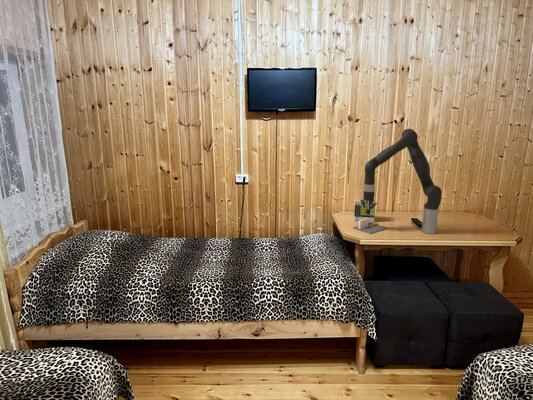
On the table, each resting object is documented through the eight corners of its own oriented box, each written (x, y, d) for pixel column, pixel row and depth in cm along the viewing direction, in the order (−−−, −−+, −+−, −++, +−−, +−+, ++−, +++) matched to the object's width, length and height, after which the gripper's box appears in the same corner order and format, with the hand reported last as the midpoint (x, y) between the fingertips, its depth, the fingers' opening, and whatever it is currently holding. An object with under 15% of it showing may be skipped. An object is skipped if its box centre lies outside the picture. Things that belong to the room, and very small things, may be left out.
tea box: (373, 218, 297) (375, 200, 293) (374, 222, 287) (375, 203, 284) (354, 217, 300) (355, 199, 297) (353, 221, 291) (354, 202, 287)
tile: (366, 217, 276) (358, 220, 271) (368, 218, 274) (360, 220, 269) (365, 225, 277) (357, 228, 272) (368, 226, 276) (359, 228, 271)
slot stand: (371, 222, 284) (371, 220, 283) (378, 224, 279) (378, 222, 279) (365, 224, 280) (365, 222, 279) (371, 226, 275) (372, 224, 275)
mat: (370, 223, 286) (370, 222, 285) (388, 228, 273) (388, 227, 273) (352, 228, 274) (352, 227, 274) (370, 234, 261) (370, 233, 261)
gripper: (380, 191, 261) (379, 215, 266) (365, 187, 272) (363, 211, 276) (373, 192, 257) (372, 217, 261) (358, 189, 267) (357, 213, 272)
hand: (367, 214), depth 269 cm, fingers closed
